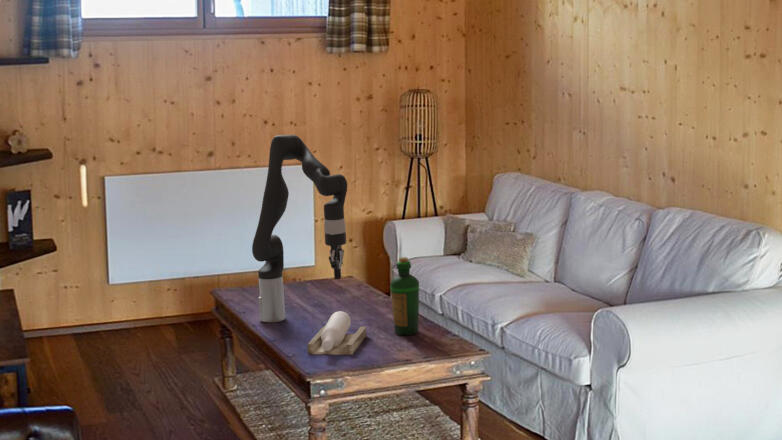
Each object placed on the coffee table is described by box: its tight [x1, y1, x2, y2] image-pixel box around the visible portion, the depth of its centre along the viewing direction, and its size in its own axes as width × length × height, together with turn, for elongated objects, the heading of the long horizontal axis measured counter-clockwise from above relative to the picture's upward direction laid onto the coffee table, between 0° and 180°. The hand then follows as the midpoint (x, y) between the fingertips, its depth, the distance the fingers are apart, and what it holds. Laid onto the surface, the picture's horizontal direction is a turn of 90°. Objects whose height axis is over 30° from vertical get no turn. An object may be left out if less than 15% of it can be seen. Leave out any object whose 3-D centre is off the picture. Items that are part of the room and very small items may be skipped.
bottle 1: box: [321, 310, 352, 351], centre depth 385 cm, size 8×8×30 cm
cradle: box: [307, 325, 368, 356], centre depth 386 cm, size 16×22×4 cm
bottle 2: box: [389, 256, 420, 336], centre depth 395 cm, size 11×11×28 cm
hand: (337, 278), depth 387 cm, fingers closed
